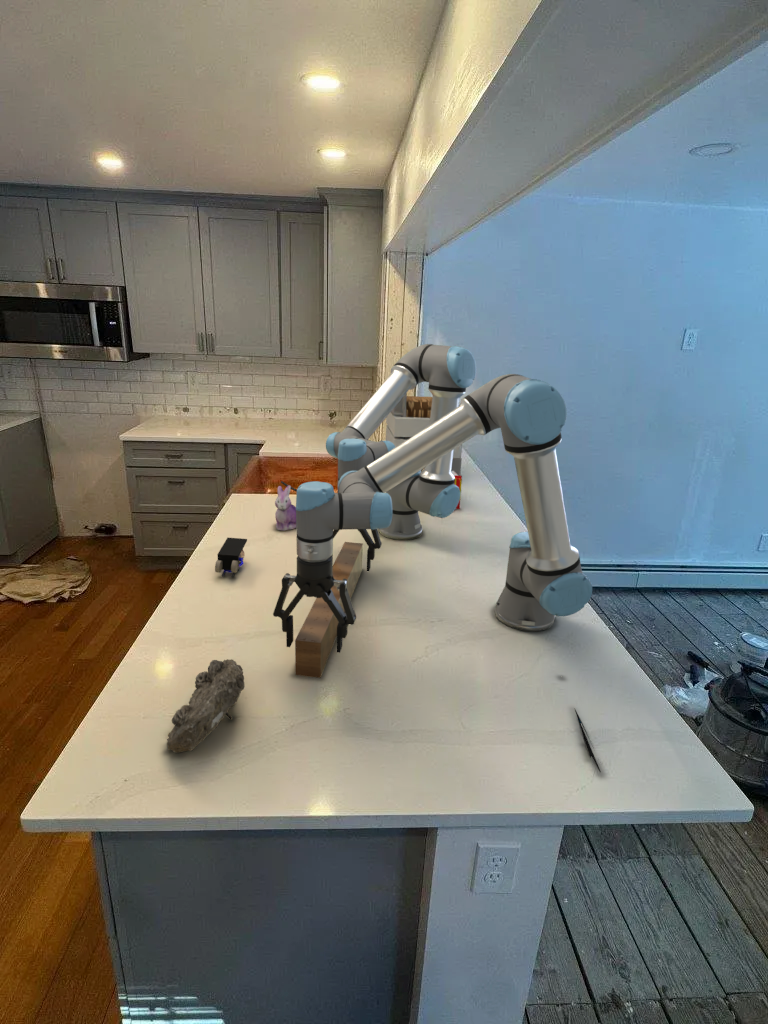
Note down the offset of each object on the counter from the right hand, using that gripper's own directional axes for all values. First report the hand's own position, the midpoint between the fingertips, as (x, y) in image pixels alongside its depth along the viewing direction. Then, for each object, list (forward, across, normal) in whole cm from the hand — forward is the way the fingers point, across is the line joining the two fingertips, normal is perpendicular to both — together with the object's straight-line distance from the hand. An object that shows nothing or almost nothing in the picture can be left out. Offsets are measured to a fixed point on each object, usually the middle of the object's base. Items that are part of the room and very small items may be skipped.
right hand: (314, 646), depth 126 cm
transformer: (+3, +12, +160) cm, 160 cm away
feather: (+3, +56, -10) cm, 57 cm away
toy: (+3, +25, +124) cm, 126 cm away
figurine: (+3, -29, +77) cm, 82 cm away
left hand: (0, 0, +41) cm, 41 cm away
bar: (+3, 0, +21) cm, 21 cm away
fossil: (+3, -14, -22) cm, 26 cm away
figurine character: (+3, -35, +40) cm, 53 cm away
